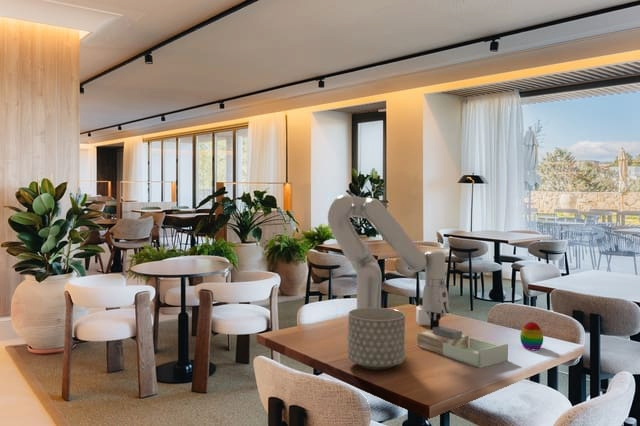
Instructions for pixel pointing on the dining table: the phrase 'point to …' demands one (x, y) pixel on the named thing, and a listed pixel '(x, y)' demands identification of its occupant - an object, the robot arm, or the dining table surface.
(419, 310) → the medicine bottle
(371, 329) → the planter
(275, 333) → the dining table surface
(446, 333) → the tile front
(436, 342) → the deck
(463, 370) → the dining table surface
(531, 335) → the decorative egg
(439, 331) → the tile rear
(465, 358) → the tray
